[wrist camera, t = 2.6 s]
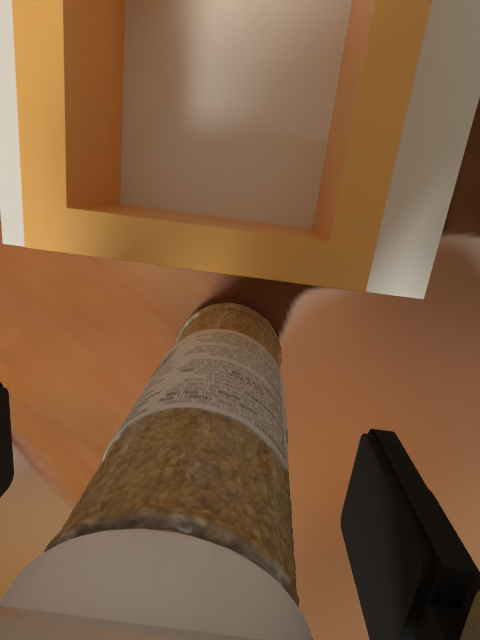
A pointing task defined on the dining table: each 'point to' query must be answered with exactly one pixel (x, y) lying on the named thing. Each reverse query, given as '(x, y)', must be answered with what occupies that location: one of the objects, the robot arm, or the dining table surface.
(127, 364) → the dining table surface
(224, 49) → the socket base
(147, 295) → the dining table surface
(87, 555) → the sprinkles bottle
